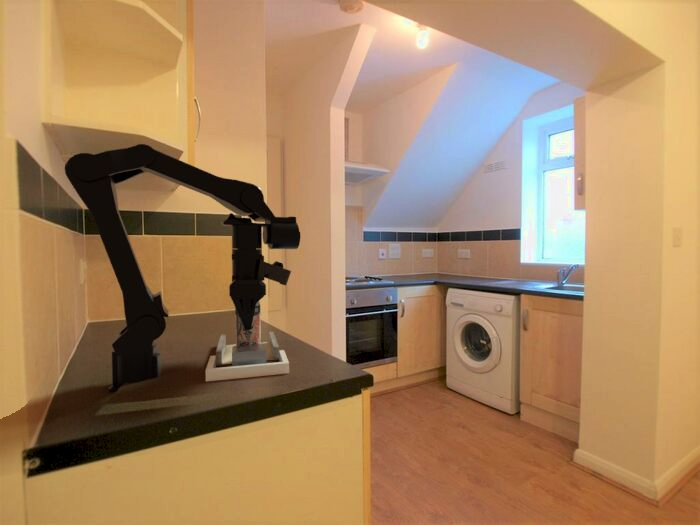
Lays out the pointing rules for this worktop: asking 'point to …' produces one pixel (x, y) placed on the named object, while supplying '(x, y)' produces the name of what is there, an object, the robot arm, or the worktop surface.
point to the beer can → (248, 335)
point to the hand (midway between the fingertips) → (247, 327)
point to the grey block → (249, 354)
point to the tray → (246, 369)
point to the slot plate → (226, 350)
